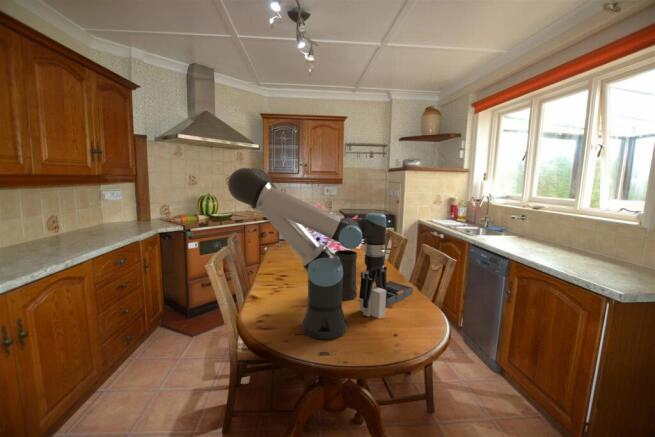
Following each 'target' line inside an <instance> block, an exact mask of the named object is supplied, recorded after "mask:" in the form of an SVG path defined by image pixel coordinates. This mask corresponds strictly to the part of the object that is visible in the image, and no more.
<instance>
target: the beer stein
mask: <svg viewBox="0 0 655 437" xmlns="http://www.w3.org/2000/svg"><path fill="white" fill-rule="evenodd" d="M334 254H336V255H337V256H338V257H339V259H340V261H341V263H342V266H343V284H342V301H349V300H350V301H351V300H353V299H356V298H357V297H358V292H357V290H358V288H357V258H358V252H357V251H354V250H351V249H346V250H345V249H342V250H341V249H339V250H336V251H335V252H334Z"/></svg>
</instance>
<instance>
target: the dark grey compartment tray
mask: <svg viewBox="0 0 655 437" xmlns="http://www.w3.org/2000/svg"><path fill="white" fill-rule="evenodd" d="M386 284H387V290H386V305H385V308H388V307H390V306H392V305H393V304H396V303H398V302H400V301H401V300H403V299H404V300H405V298H408V297H409V296H411V295H413V291H414V288H413V287H411V286H409V285H405V284H401V283H399V282H395V281H392V280H389V281H386ZM383 287H384V286H383Z"/></svg>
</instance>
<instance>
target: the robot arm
mask: <svg viewBox="0 0 655 437" xmlns="http://www.w3.org/2000/svg"><path fill="white" fill-rule="evenodd" d="M227 187H228V192H229V193H230V195H231V196H232V197H233V198H234V199H235V200H237V201H238V202H240V203H243V204H245V205H247V206H250V208H252V209H253V211H258V212H261V214H262V215H264V217H265V218H266V219H267V221H269V223H270V224H271V225H272V226H273V227H274V229H275V230H276V231H277V232H278V233H279V234H280V235H281V237H282V238H283V239H284V240H285V241H286V242H287V243H288V244H289V246H290V247H291V248H292V249H293V250H294V251H295V252H296V254H297V255H298V256H299V257H300V258H301V259H302V261H301V262H302V263H301V266H302V267H303V268H304V269H305V270H306V272H307V279H308V280H307V308H306V311H305V315H304V318H303V319H302V331H303V333H304V334H305V335H306V336H308V337H309V338H312V339H315V340H316V339H317V340H326V341H327V340H334V339H337V338H340V337H342V336H343V335H344V334H345V333H347V325H348V324H347V320H346V317H345V314H344V310H343V300H342V284H343V266H342V263H341V261H340V259H339V257H338V256H337V255H336V254H335V252H333V251H331V249H329V247H328V246H327V245H326V244H320V243H319V242H318V241H317V240H316V239H315V238H314V236H313V235H312V234H311V233H310V232H309V230H311V231H313V232H316V233H317V234H320V235H322V236H325V237H326V238H329V239H331V240H333V241H335V242H337V243H339V244H340V245H341V246H342V247H343V248H346V250H354V249H356V248H357V247H359V246H360V245H361V244H362V242H363V240H365V241H364V253H365V255H364V264H365V266H366V268H365V271H364V272H363V271H362V272H360V286H359V294H358V295H359V296H358V297H359V299H360V298H361V299H363V312H362V314H363V316H366V317H371V315H370V305H371V300H370V299H369V298H370V294H371V290H372V286H374V283H375V287H378V288H381V289H384V290H387V284H386V282H387V270H388V267H387V266H385V261H386V255H385V254H386V237H387V216H386V215H385V214H384V213H379V212H372V213H371V212H368V213H366V215H365V218H349V217H348V218H347V217H346V218H344V217H342V218H341V217H338V216H336V215H335V214H332V213H330V212H328V211H326V210H324V209H321V208H319V207H317V206H315V205H313V204H310V203H308V202H306V201H303V200H302V199H299V198H297V197H295V196H293V195H291V194H288V193H287V192H285V191H283V190H280V189H278V188H277V186H275V184H274V183H273V182H272V179H271V177H270V175H269V174H268V173H267V172H266V171H264V170H262V169H260V168H255V167H254V168H253V167H252V168H249V167H242V168H239V169H236V170H234V171H233V172H232V173H231V174H230V176H229V178H228V181H227ZM308 229H309V230H308ZM383 286H384V287H383Z"/></svg>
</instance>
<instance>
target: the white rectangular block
mask: <svg viewBox="0 0 655 437" xmlns="http://www.w3.org/2000/svg"><path fill="white" fill-rule="evenodd" d="M359 299H360V300H359V312H362V313H363V299H361V298H359ZM369 299H370V300H371V305H370V316H372V317H374V318H376V319H380V318H381V319H382V318H383V317H385V315H386V307H385V305H386V290H384V289H381V288H378V287H376V285H375V286H374V285H373V286H372V290H371V294H370V298H369Z"/></svg>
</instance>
